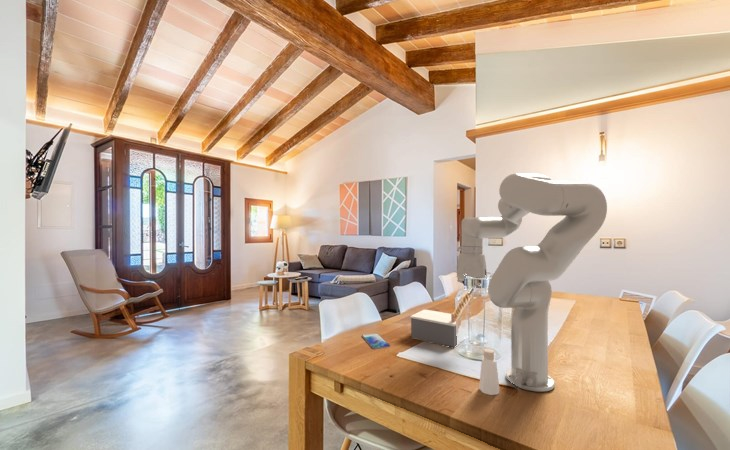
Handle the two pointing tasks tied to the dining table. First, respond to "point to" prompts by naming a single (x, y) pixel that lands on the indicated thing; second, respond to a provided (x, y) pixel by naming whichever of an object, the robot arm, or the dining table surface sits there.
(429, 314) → the lid
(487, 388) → the pepper shaker
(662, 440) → the dining table surface
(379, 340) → the smartphone
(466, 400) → the dining table surface
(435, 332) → the box
